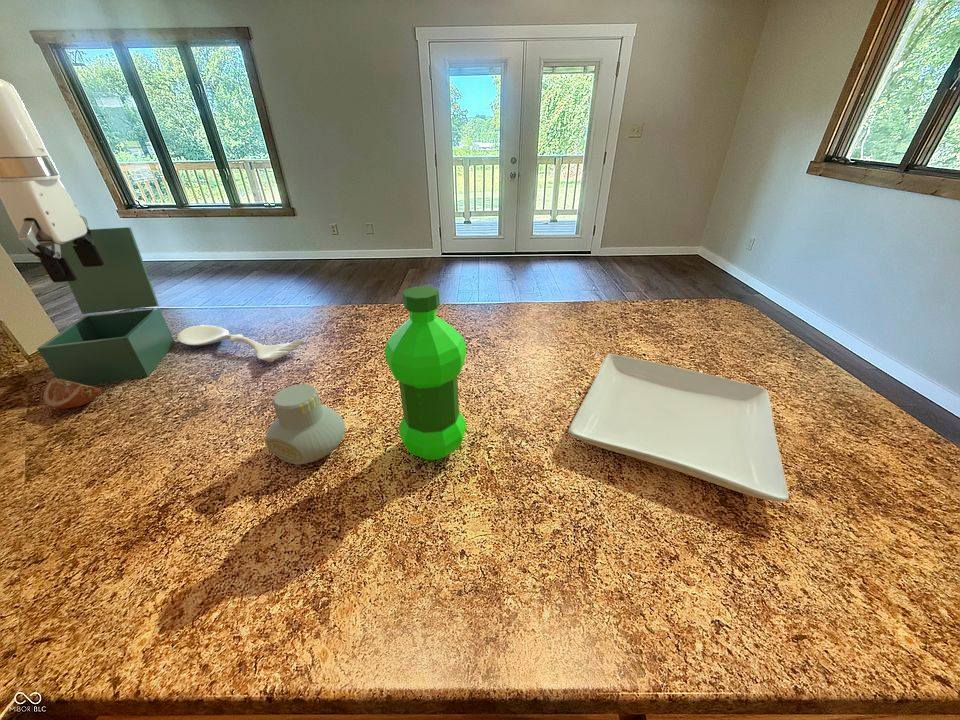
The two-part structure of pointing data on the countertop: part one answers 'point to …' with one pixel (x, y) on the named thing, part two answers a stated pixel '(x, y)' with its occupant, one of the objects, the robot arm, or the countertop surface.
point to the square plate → (685, 424)
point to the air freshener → (303, 426)
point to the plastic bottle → (427, 376)
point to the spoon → (216, 334)
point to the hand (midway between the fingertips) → (80, 273)
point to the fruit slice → (68, 393)
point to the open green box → (109, 347)
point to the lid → (111, 274)
